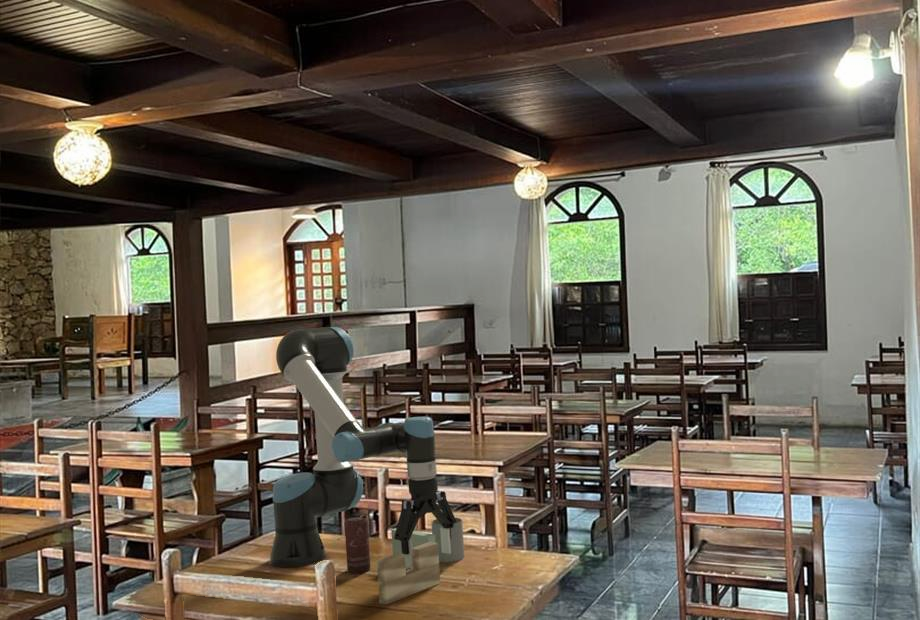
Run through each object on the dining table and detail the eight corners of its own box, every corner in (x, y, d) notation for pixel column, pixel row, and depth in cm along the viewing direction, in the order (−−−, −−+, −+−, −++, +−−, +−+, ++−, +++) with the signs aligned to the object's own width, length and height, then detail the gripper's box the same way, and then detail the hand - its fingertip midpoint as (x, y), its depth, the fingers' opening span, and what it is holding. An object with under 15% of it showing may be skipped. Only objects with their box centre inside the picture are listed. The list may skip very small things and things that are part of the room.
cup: (460, 562, 227) (458, 525, 227) (430, 562, 228) (428, 525, 228) (466, 553, 235) (464, 517, 235) (437, 553, 236) (435, 517, 236)
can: (375, 567, 227) (372, 515, 227) (362, 574, 221) (359, 521, 221) (355, 565, 229) (352, 514, 229) (343, 573, 223) (339, 520, 223)
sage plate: (393, 567, 226) (391, 529, 226) (400, 564, 228) (397, 527, 228) (430, 575, 216) (428, 536, 216) (437, 573, 218) (434, 534, 218)
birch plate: (379, 602, 198) (377, 560, 198) (433, 581, 212) (431, 541, 212) (386, 604, 197) (383, 561, 197) (440, 583, 210) (437, 543, 210)
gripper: (396, 487, 207) (402, 574, 207) (465, 469, 225) (471, 549, 225) (376, 485, 212) (382, 570, 212) (445, 467, 230) (450, 545, 230)
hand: (428, 559), depth 218 cm, fingers open, 13 cm apart
